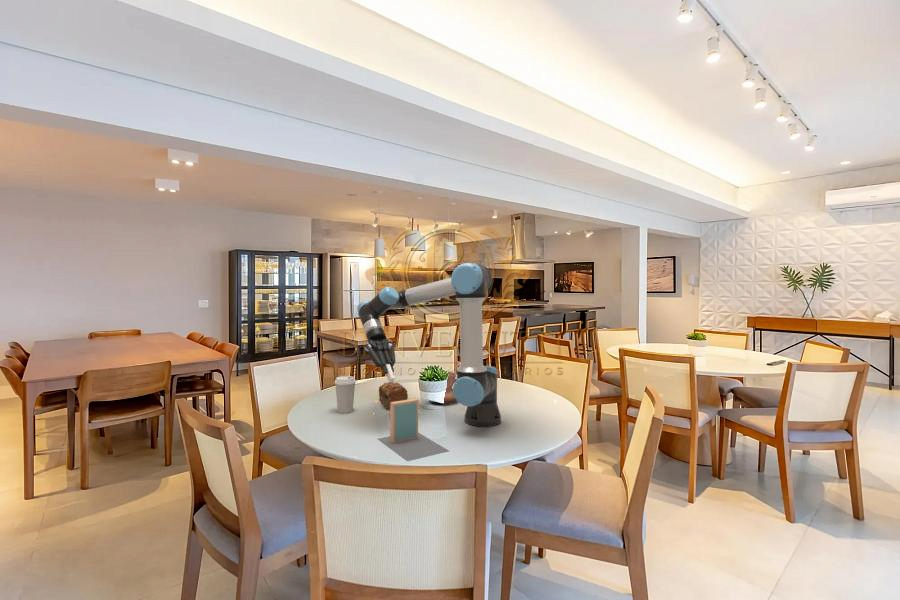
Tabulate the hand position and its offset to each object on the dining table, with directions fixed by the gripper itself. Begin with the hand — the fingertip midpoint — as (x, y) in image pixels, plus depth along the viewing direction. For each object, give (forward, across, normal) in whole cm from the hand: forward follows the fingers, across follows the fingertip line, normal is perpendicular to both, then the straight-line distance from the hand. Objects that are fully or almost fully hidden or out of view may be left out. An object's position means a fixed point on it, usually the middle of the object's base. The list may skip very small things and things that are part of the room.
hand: (391, 380), depth 164 cm
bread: (-11, -18, -40) cm, 46 cm away
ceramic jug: (-5, -40, -34) cm, 53 cm away
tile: (+21, 0, -7) cm, 22 cm away
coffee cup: (-12, +5, -41) cm, 43 cm away
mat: (+26, 0, -3) cm, 26 cm away
